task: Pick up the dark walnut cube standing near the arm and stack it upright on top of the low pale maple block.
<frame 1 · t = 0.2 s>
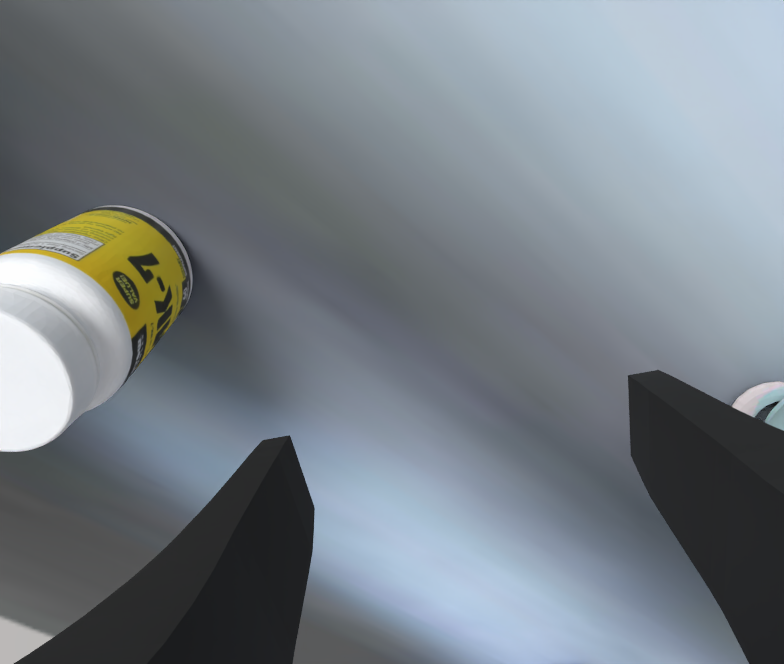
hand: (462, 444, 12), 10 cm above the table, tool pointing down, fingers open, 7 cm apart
supplement bottle: (132, 265, 21), on the table
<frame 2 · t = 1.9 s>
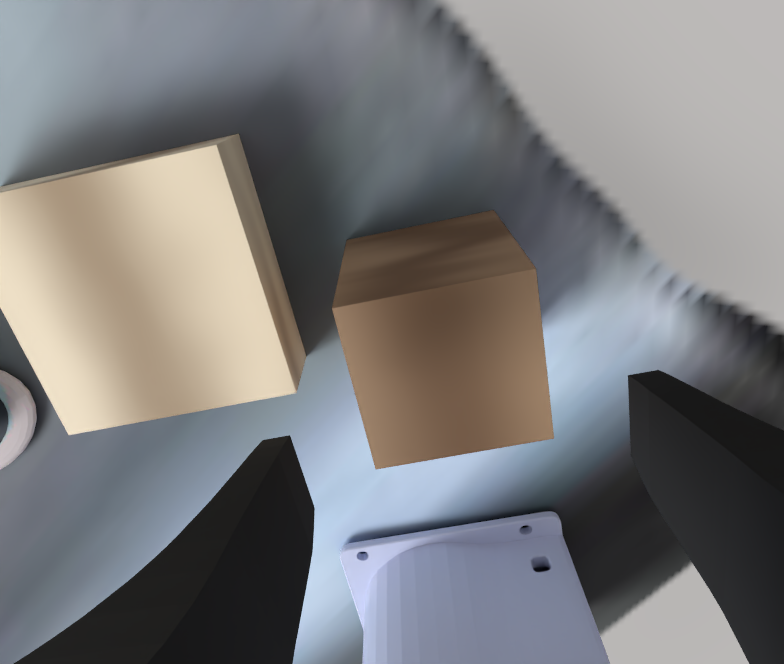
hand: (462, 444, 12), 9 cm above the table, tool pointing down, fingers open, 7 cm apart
walnut cube: (432, 293, 20), on the table
maple block: (167, 273, 20), on the table
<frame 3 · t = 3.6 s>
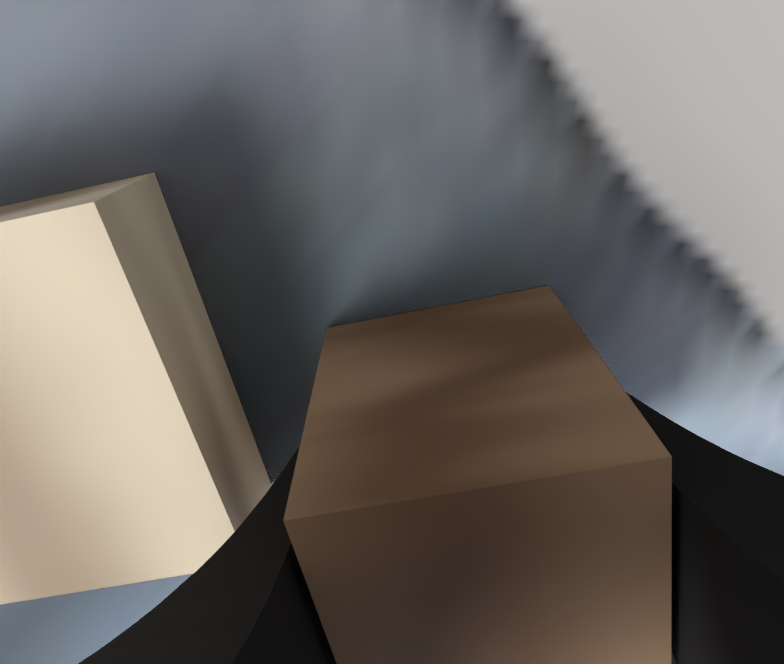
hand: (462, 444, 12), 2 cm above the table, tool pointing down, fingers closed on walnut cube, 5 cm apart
walnut cube: (453, 401, 14), on the table, touching gripper
maple block: (64, 371, 14), on the table
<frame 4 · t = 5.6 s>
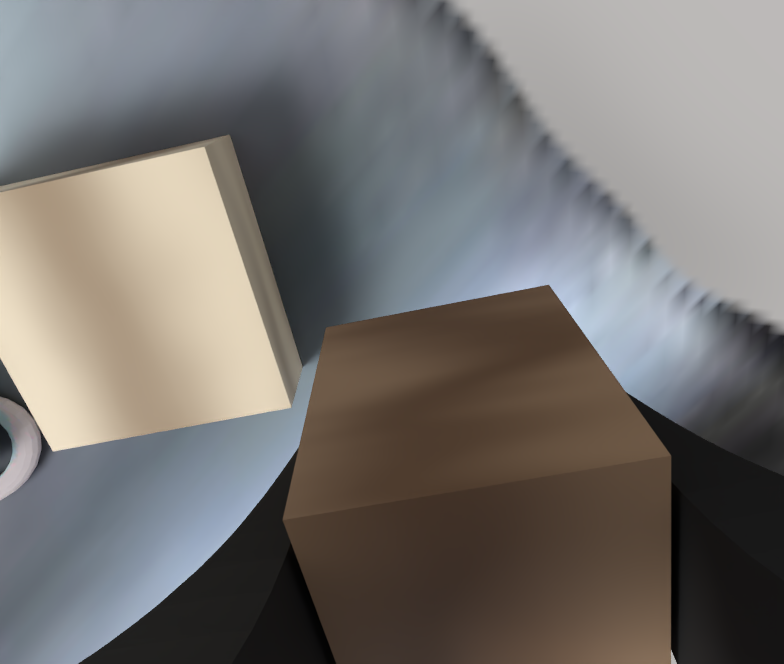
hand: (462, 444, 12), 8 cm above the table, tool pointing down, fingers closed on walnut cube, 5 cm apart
walnut cube: (453, 400, 14), point 6 cm above the table, touching gripper
maple block: (156, 281, 19), on the table
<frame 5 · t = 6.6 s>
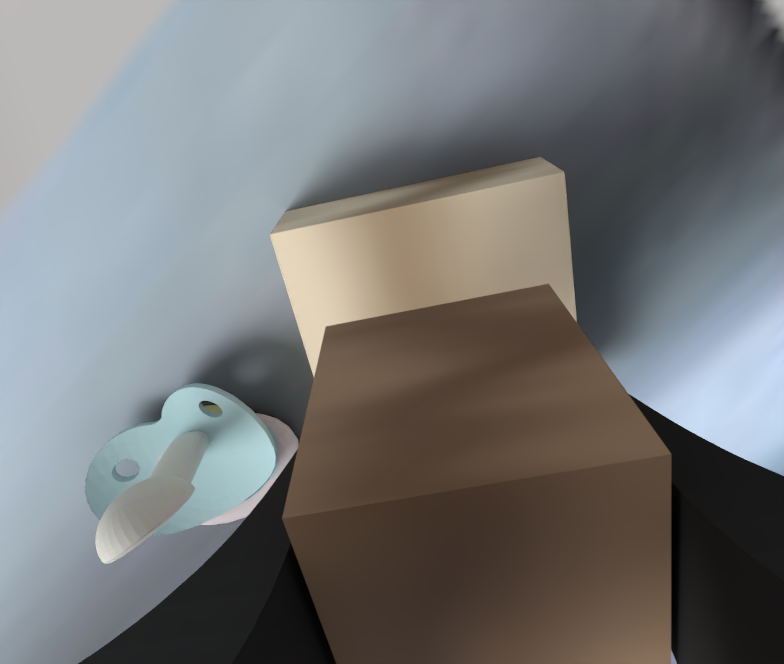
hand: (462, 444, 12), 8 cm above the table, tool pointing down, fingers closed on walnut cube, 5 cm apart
walnut cube: (453, 399, 14), point 6 cm above the table, touching gripper
maple block: (432, 298, 20), on the table
pacifier: (215, 445, 22), on the table
when the fingers open (6 cm above the table, at t = 7.6 s): walnut cube drops 1 cm, point 3 cm above the table.
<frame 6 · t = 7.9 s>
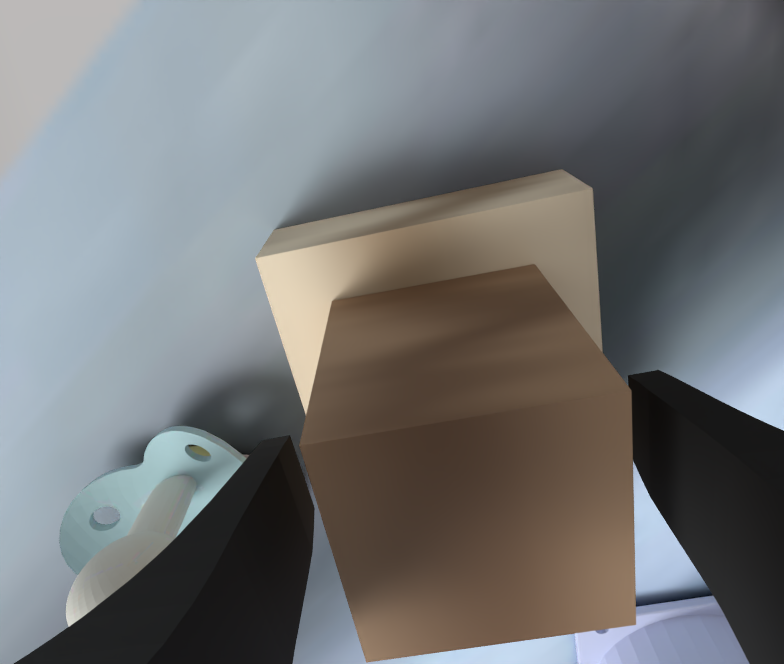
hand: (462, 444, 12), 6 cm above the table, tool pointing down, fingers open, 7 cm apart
walnut cube: (447, 371, 15), point 3 cm above the table
maple block: (438, 323, 18), on the table
pacifier: (204, 487, 20), on the table
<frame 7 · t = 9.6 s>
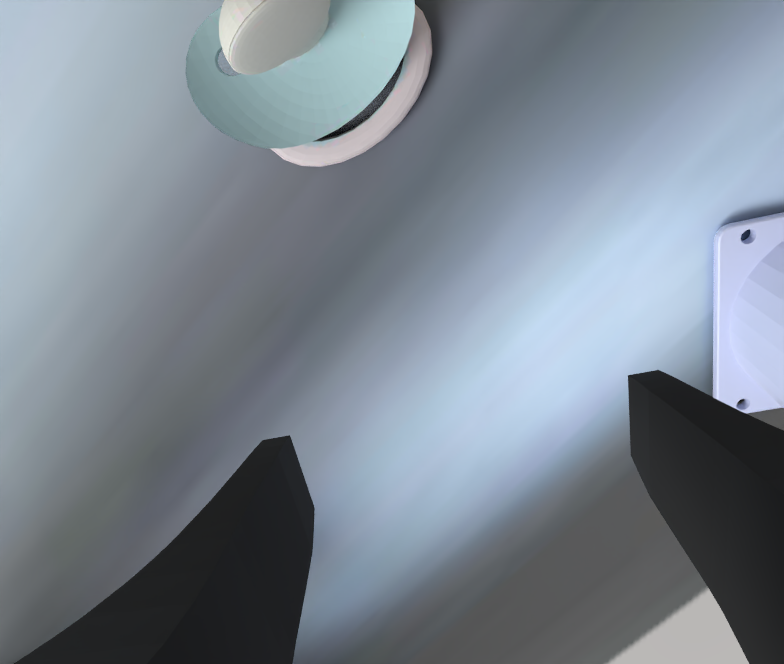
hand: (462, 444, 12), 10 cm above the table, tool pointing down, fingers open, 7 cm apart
pacifier: (327, 61, 19), on the table
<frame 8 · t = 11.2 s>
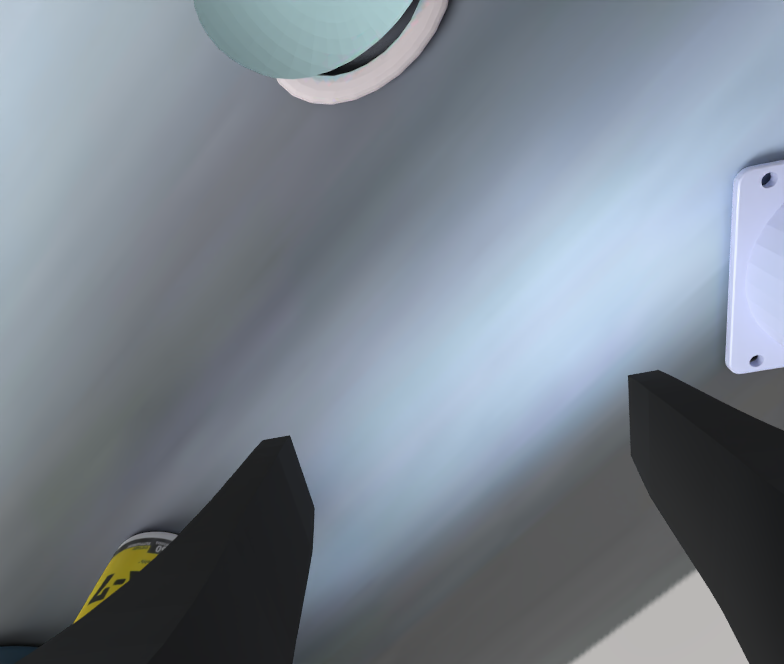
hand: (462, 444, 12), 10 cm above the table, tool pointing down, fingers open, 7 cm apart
supplement bottle: (166, 561, 28), on the table
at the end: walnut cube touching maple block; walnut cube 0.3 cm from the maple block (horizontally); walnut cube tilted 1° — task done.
